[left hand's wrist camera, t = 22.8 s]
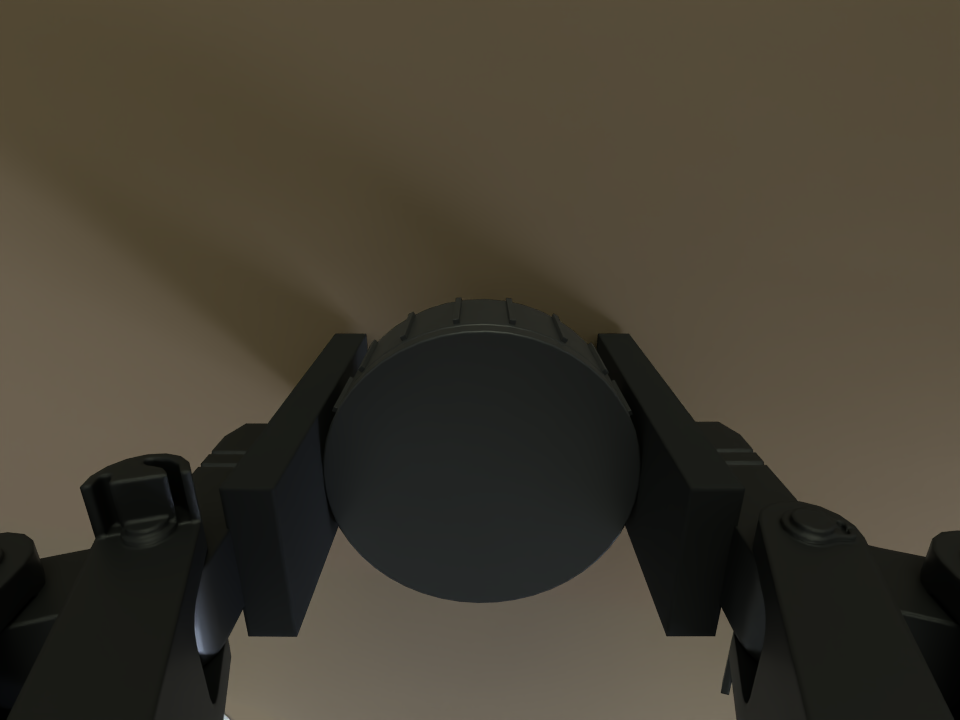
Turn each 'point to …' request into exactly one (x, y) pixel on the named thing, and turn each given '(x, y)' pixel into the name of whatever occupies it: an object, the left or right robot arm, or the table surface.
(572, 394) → the lid
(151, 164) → the table surface
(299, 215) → the table surface
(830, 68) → the table surface
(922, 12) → the table surface
